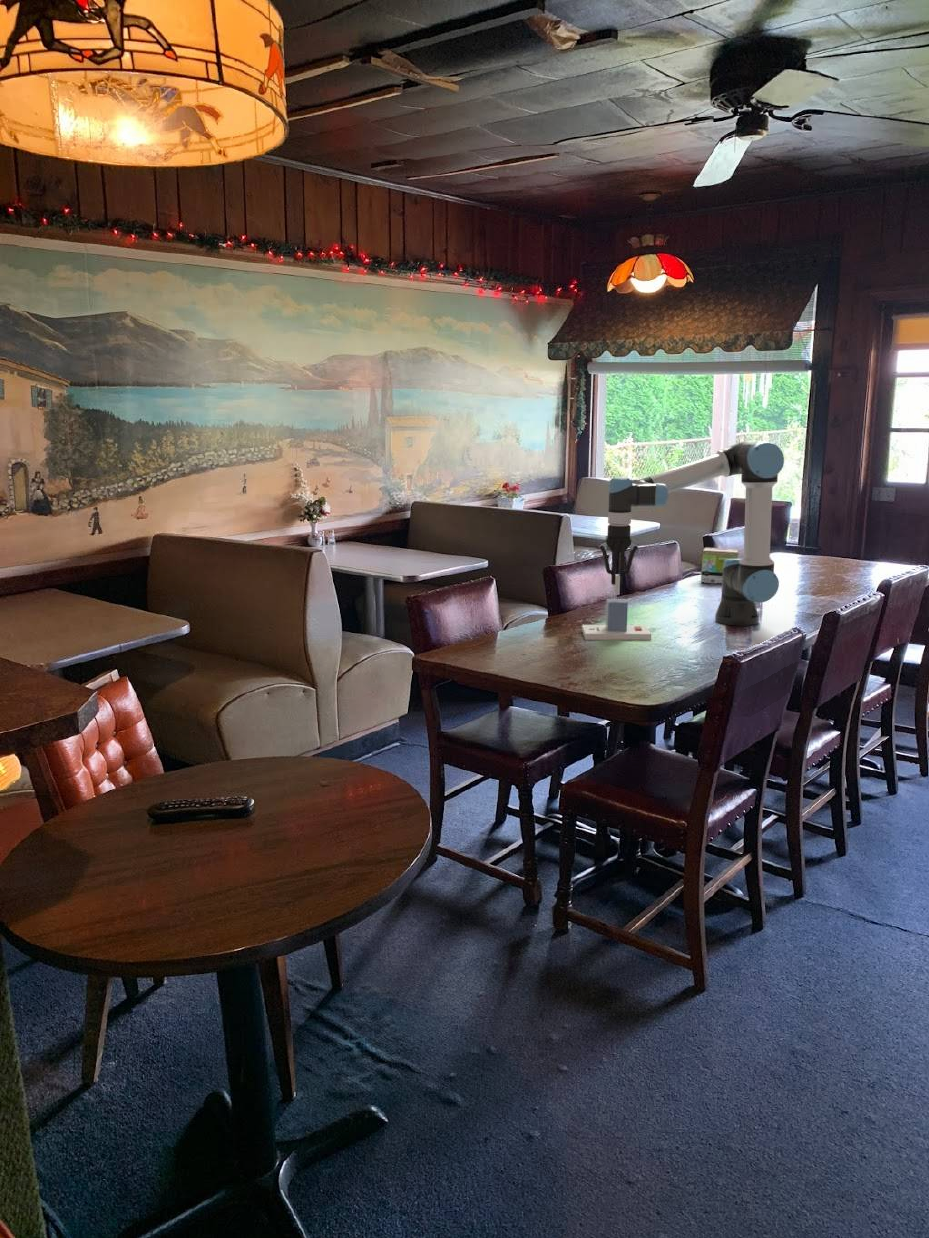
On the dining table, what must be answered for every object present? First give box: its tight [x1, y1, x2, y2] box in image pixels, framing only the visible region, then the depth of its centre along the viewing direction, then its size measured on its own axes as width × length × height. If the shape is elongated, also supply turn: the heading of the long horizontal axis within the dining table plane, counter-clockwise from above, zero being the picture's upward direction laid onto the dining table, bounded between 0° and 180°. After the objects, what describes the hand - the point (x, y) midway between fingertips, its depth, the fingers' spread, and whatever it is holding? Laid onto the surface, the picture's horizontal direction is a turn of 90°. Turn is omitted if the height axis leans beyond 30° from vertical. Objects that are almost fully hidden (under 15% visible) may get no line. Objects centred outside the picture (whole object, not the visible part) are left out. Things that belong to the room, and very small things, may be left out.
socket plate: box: [581, 624, 652, 641], centre depth 319 cm, size 22×13×3 cm, turn 88°
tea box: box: [700, 547, 740, 584], centre depth 411 cm, size 15×10×15 cm, turn 72°
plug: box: [605, 598, 629, 632], centre depth 318 cm, size 6×6×12 cm
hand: (616, 593), depth 316 cm, fingers closed
